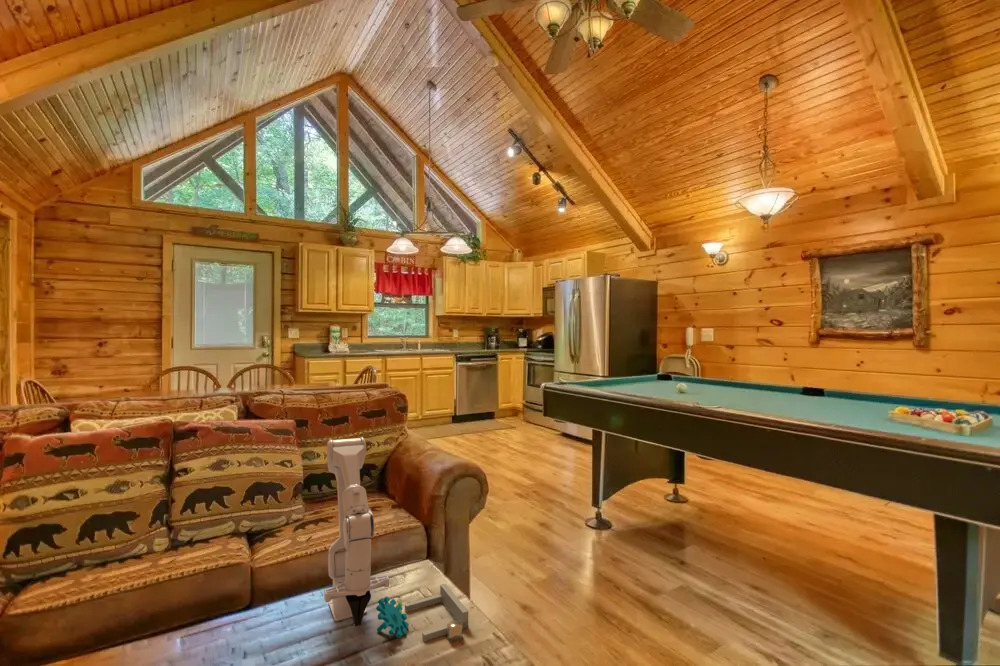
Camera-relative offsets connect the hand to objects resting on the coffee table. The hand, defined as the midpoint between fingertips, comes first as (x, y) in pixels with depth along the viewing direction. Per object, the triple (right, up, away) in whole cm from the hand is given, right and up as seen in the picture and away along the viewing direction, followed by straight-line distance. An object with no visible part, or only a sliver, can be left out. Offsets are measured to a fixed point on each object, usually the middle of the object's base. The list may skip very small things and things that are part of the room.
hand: (357, 623), depth 111 cm
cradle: (+17, -5, +10) cm, 20 cm away
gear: (+7, -5, +5) cm, 10 cm away
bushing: (+23, -5, +3) cm, 23 cm away
